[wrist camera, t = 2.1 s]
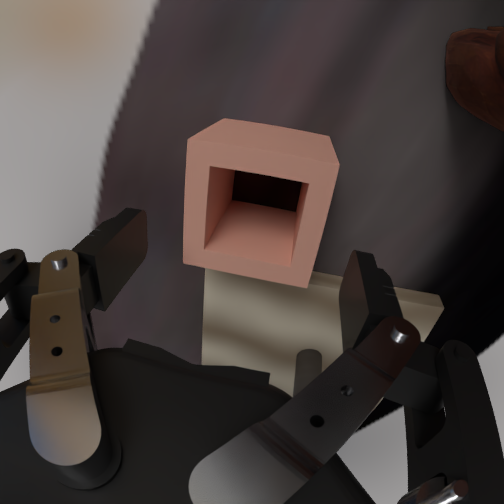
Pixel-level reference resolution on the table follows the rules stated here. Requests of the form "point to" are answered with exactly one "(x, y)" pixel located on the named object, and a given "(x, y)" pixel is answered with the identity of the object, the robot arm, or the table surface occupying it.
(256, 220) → the bead
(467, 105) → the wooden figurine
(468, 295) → the table surface
